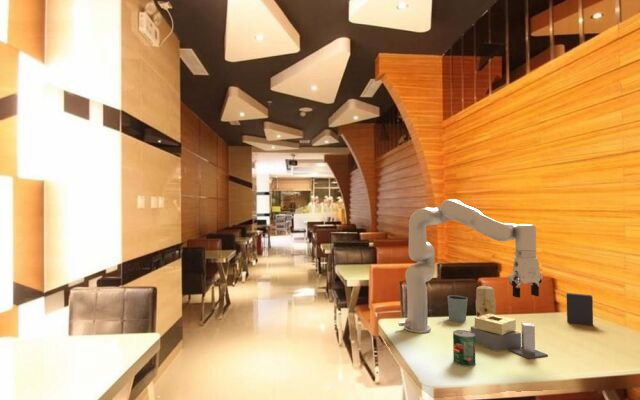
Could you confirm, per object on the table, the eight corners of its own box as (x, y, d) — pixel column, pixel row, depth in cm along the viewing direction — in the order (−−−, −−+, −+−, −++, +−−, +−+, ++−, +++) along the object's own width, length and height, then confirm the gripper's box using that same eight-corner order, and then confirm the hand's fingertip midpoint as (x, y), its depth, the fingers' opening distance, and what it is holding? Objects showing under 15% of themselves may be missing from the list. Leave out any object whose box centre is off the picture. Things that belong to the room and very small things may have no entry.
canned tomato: (480, 363, 140) (479, 334, 141) (466, 368, 136) (466, 337, 137) (461, 357, 147) (461, 328, 148) (448, 361, 143) (448, 332, 143)
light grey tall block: (523, 352, 150) (523, 325, 150) (521, 349, 154) (521, 322, 154) (535, 354, 149) (534, 326, 149) (532, 350, 153) (532, 323, 153)
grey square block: (494, 351, 154) (494, 336, 154) (470, 340, 167) (470, 326, 167) (521, 347, 158) (520, 333, 158) (496, 337, 171) (495, 323, 172)
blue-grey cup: (443, 318, 202) (443, 296, 203) (458, 316, 206) (457, 294, 207) (457, 323, 193) (457, 299, 193) (472, 321, 197) (471, 298, 197)
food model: (491, 324, 192) (491, 284, 192) (499, 328, 185) (498, 287, 186) (473, 324, 191) (473, 285, 192) (479, 328, 184) (479, 287, 185)
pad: (528, 359, 145) (528, 357, 145) (508, 350, 155) (508, 348, 155) (547, 356, 148) (547, 354, 148) (526, 347, 158) (526, 346, 158)
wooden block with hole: (501, 335, 154) (501, 324, 154) (474, 328, 164) (474, 317, 164) (517, 329, 163) (517, 318, 163) (490, 322, 172) (490, 312, 172)
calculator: (592, 324, 192) (591, 294, 193) (593, 326, 188) (592, 296, 189) (567, 320, 198) (566, 292, 199) (567, 322, 194) (566, 293, 195)
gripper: (516, 255, 147) (516, 299, 146) (549, 254, 152) (550, 297, 152) (501, 253, 154) (501, 295, 153) (534, 252, 159) (534, 293, 159)
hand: (525, 296), depth 152 cm, fingers open, 9 cm apart
